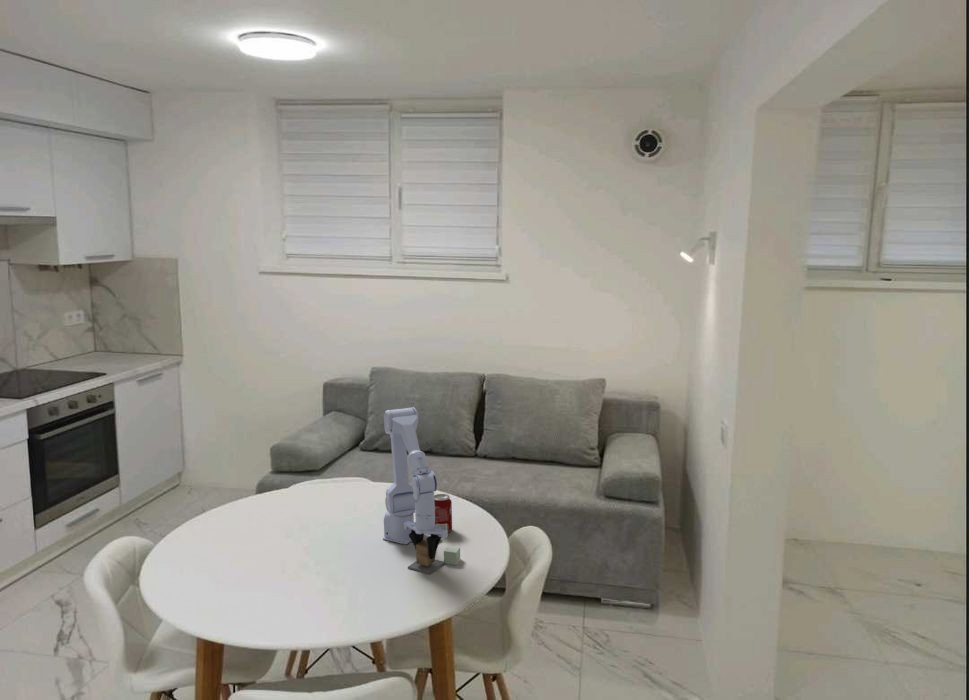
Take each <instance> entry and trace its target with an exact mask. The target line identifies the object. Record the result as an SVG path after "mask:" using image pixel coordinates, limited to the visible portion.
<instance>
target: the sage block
mask: <svg viewBox="0 0 969 700" xmlns="http://www.w3.org/2000/svg"><path fill="white" fill-rule="evenodd" d="M460 560H461V547H460V546H452V545H447V546H446V548H445V549H444V550H443V561H444V562H445V564H447V565H455V566H456V565H458V563H459V562H460ZM445 564H444V565H445Z"/></svg>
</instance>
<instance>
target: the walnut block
mask: <svg viewBox="0 0 969 700" xmlns="http://www.w3.org/2000/svg"><path fill="white" fill-rule="evenodd" d="M415 558H416V560H415V561H416V564H420V565H424V566H429V565H430V564H432V563H433V562H434V561H435V559H436V556H435V557H434V558H433V559H430V557H429V546H428V542H427V540H422V541H421V542H419V543H418V544H416V549H415Z"/></svg>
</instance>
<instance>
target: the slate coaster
mask: <svg viewBox="0 0 969 700" xmlns="http://www.w3.org/2000/svg"><path fill="white" fill-rule="evenodd" d="M444 565H445V562H444V560H439V559H436V558H435V561H434V562H433V563H432V564H430V565H429V566H424V565H420V564H416V560H415V561H414V562H413V563H411V564H410V565H408V566H407V570H412V571H416V572H420V573H424V574H425V575H426V574H427V575H432V574H433V573H434V572H436V571H437V570H439V569H440V568H442V567H443V566H444Z"/></svg>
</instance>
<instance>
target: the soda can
mask: <svg viewBox="0 0 969 700" xmlns="http://www.w3.org/2000/svg"><path fill="white" fill-rule="evenodd" d="M450 498H451V496H450V495H449V494H447V493H439V494H434V505H435V525H436V526H438V527H440V528H442V529H444V530H448V533H450V532H451V531H452V530H453V513H452V509H453V507H452V504H453V502H452V499H450Z"/></svg>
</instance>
